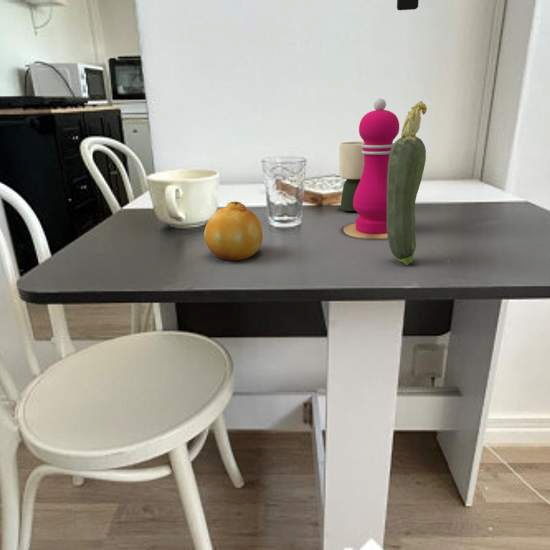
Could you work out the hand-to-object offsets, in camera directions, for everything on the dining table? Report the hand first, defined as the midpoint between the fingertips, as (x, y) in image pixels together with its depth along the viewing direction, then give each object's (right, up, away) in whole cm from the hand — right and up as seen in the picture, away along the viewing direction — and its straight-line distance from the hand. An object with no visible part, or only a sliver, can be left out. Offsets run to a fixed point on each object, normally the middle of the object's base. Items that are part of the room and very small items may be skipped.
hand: (418, 2), depth 64 cm
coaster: (-4, -33, +9) cm, 34 cm away
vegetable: (-4, -38, -5) cm, 39 cm away
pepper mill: (-4, -32, +9) cm, 34 cm away
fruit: (-27, -37, 0) cm, 46 cm away
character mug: (-5, -27, +23) cm, 36 cm away
